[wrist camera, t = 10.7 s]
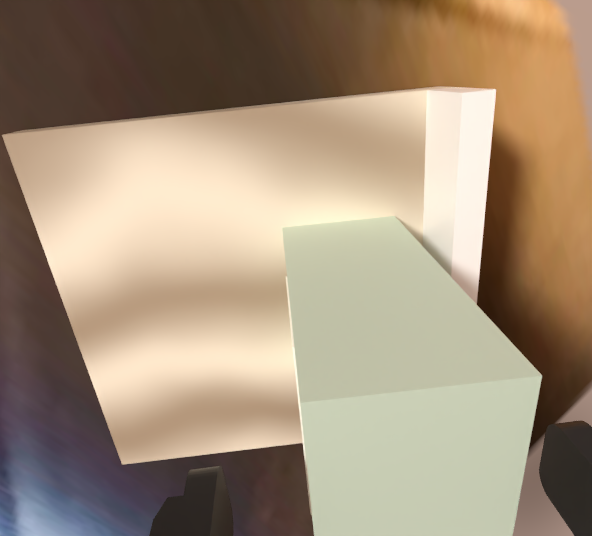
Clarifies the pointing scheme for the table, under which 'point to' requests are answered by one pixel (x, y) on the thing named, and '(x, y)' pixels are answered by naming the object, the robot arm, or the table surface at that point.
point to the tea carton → (402, 388)
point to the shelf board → (234, 243)
